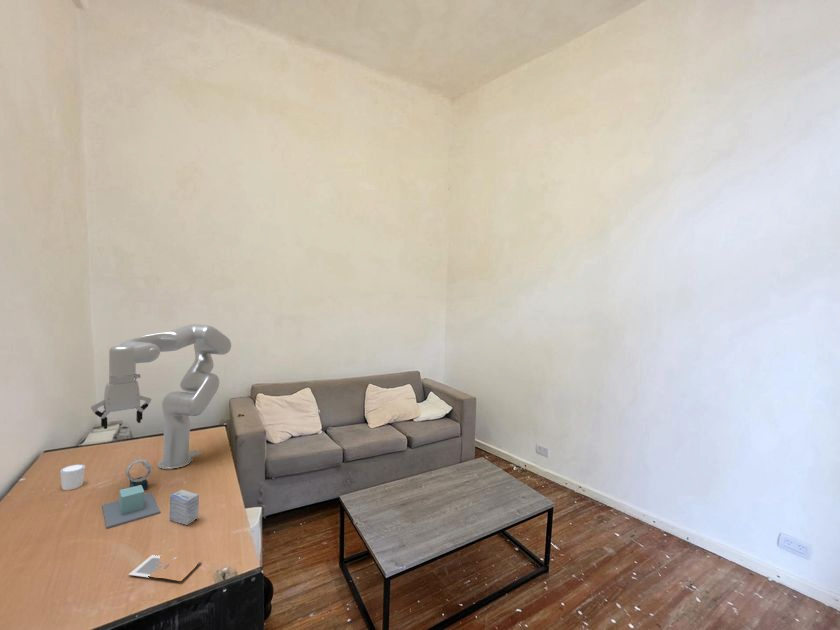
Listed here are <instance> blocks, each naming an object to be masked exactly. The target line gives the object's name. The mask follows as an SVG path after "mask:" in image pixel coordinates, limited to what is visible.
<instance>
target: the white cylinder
mask: <svg viewBox="0 0 840 630" xmlns="http://www.w3.org/2000/svg"><path fill="white" fill-rule="evenodd" d="M59 471H60V472H59V473H60V481H61V483H60V484H61V489H62V490H64V491H70V490H71V491H72V490H74V489H77V488H81V486H83V484H84V483H83V482H84V477H85V471H86V465H85V464H82V463H80V464H71V465H67V466H65V467H63V468H61V469H60V470H59Z"/></svg>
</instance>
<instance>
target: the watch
mask: <svg viewBox="0 0 840 630" xmlns="http://www.w3.org/2000/svg"><path fill="white" fill-rule="evenodd" d="M139 463H141V464H142V465H143V467H145V469H146V470H147V473H146V474H145V475H144V476H143V475H142V476H139V477H137V478H134V477H132V476H131V474H130V469H131V468H132V467H133V466H134V465H135V464H136V465H137V464H139ZM152 470H153V467H152V466H151V464H150V463H149V461H148V460H147V459H145V458H144V459H143V458H138V459H136V460H134V461H132V462H130V463H129V464H128V465H127V467H126V469H125V474H126V476H127V478H128V480H129V487H128V488H130V487H134V486H138V485H142V487H143V490H144V491H147V490H148V487H149V486H148V484H149V483H148V481H149V480H147V479H148V478H149V477H150V476H151V474H152V472H153V471H152Z"/></svg>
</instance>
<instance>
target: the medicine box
mask: <svg viewBox="0 0 840 630" xmlns="http://www.w3.org/2000/svg"><path fill="white" fill-rule="evenodd" d="M199 502H200V494H198V493H196V492H195V493H194V492H191V491H188V490H186V489H180V490H179V491H176V492H174V493H172V494H171V495H170V497H169V519H170V520H169V521H171V520H173V521H172V522H174V521H176V522H175V523H177V522H179V523H178V524H180V523H182V524H181V525H183V524H186V525H187V524H189V523H190V522H192V521H194V520H195V519H196V518H198V519H199V508H200V506H199V504H200V503H199ZM194 522H195V521H194ZM186 525H185V526H186ZM189 525H190V524H189Z"/></svg>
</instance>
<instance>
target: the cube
mask: <svg viewBox="0 0 840 630" xmlns="http://www.w3.org/2000/svg"><path fill="white" fill-rule="evenodd" d="M129 487H130V486H129ZM129 487H127V488H123V489H119V498H118V501H119V509H120V513H121V515H123V514H127V513H131V512H134V511H138V510H141V509H144V494H145V490H143V487H142V485H138V486H134V487H130V488H129Z"/></svg>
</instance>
